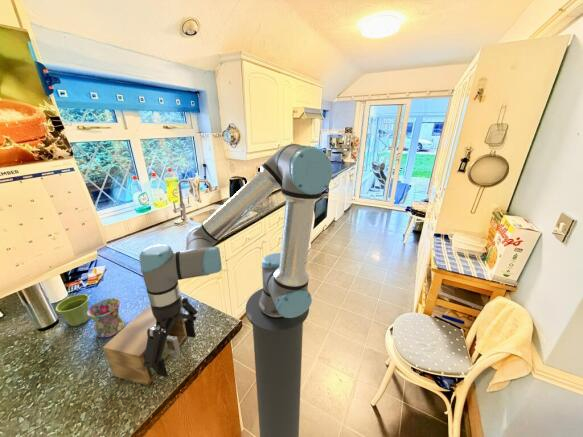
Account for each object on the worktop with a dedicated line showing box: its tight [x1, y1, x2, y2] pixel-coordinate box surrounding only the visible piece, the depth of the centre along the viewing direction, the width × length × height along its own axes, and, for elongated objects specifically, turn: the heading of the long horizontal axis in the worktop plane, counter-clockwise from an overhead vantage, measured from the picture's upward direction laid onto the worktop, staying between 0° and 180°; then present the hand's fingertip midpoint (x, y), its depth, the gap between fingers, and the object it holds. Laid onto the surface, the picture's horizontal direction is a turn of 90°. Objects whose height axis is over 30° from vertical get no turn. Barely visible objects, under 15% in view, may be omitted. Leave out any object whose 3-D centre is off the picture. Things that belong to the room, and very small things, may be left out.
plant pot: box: [55, 293, 91, 327], centre depth 89 cm, size 9×9×9 cm
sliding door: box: [144, 336, 182, 375], centre depth 71 cm, size 6×7×10 cm
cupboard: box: [102, 303, 188, 386], centre depth 75 cm, size 12×18×12 cm
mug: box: [87, 297, 126, 339], centre depth 83 cm, size 12×9×11 cm
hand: (178, 353), depth 73 cm, fingers open, 13 cm apart
